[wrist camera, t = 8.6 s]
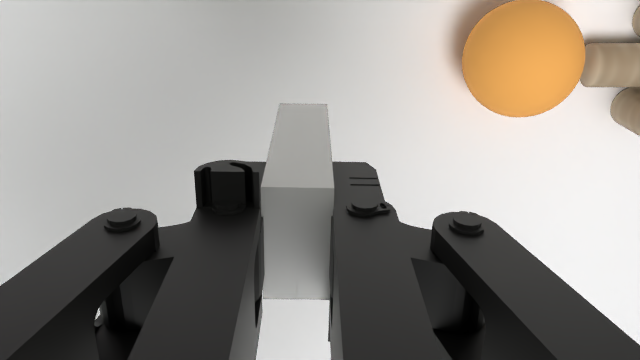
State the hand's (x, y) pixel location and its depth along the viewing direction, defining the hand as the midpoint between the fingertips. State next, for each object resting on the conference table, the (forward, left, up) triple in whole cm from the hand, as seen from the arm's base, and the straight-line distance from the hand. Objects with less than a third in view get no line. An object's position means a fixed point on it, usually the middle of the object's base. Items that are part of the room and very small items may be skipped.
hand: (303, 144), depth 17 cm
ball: (+11, +1, -12) cm, 16 cm away
